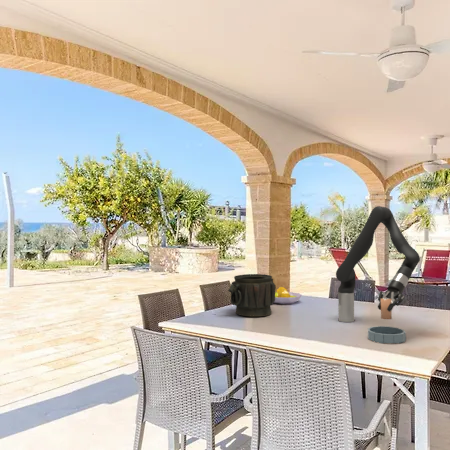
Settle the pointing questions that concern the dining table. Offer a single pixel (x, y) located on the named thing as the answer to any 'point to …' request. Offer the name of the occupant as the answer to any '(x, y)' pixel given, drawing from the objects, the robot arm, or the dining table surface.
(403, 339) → the bowl
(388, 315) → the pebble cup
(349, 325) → the dining table surface
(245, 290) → the vessel
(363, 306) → the dining table surface
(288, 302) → the fruit bowl
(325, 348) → the dining table surface
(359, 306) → the dining table surface
